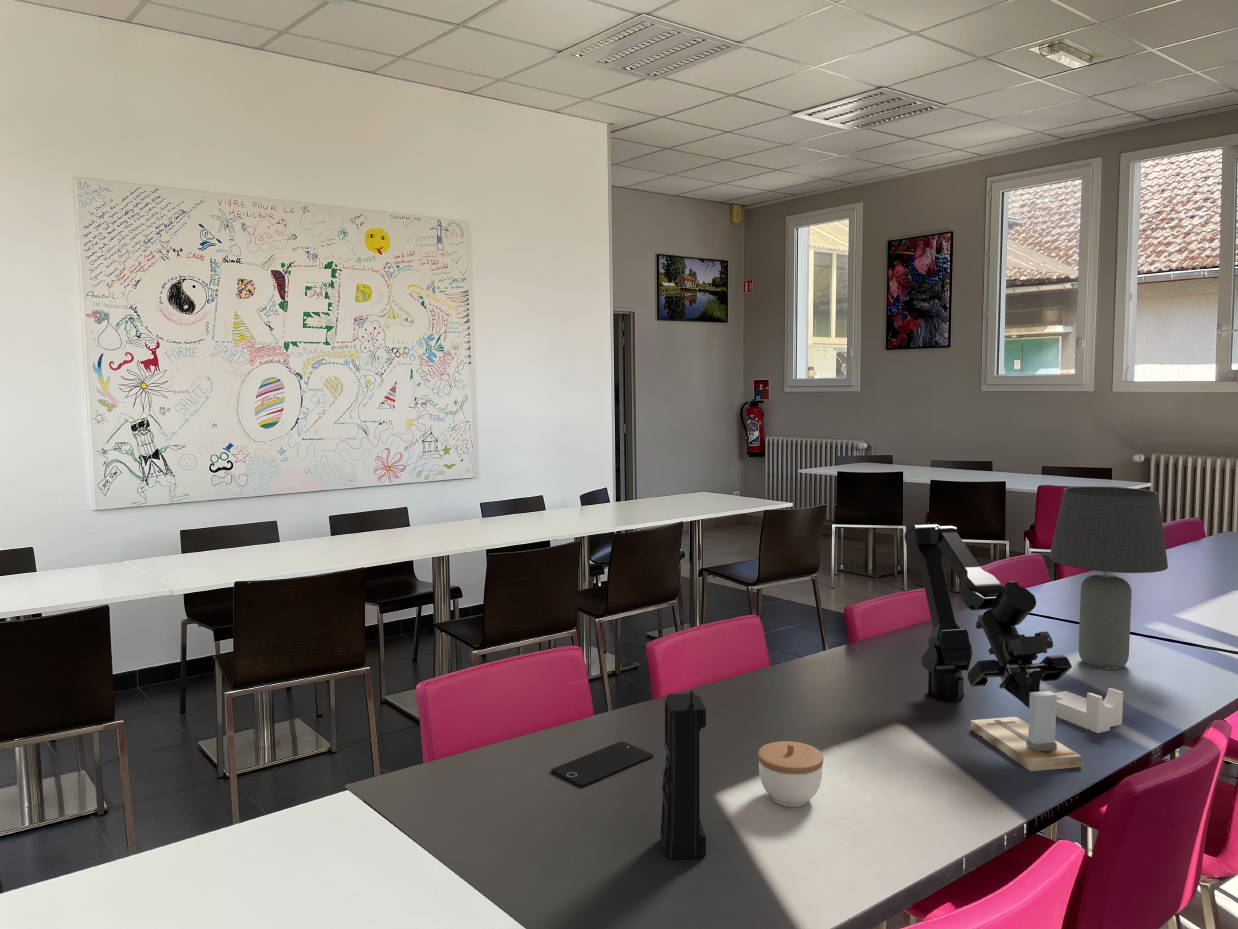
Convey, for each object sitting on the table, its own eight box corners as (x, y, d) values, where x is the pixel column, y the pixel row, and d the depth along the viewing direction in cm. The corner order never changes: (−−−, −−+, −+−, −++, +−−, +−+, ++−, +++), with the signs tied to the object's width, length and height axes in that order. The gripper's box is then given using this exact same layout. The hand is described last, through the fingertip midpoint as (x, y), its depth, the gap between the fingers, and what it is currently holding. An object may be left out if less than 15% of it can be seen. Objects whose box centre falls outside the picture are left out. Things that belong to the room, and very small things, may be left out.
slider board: (970, 730, 172) (970, 719, 172) (1016, 726, 174) (1016, 716, 174) (1030, 771, 153) (1031, 760, 153) (1081, 766, 155) (1081, 755, 155)
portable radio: (658, 833, 133) (657, 676, 131) (697, 831, 134) (696, 675, 132) (665, 861, 126) (664, 694, 123) (706, 858, 126) (706, 693, 124)
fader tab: (1026, 745, 159) (1028, 691, 158) (1045, 743, 160) (1047, 690, 159) (1036, 751, 156) (1038, 697, 155) (1056, 750, 157) (1058, 695, 156)
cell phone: (549, 774, 155) (549, 769, 155) (621, 745, 168) (621, 740, 167) (582, 790, 149) (582, 785, 149) (654, 759, 161) (654, 754, 161)
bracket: (1121, 728, 173) (1123, 692, 172) (1097, 734, 170) (1098, 697, 169) (1065, 707, 185) (1066, 672, 184) (1041, 712, 182) (1042, 677, 181)
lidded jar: (754, 783, 150) (754, 731, 149) (816, 784, 150) (816, 731, 149) (762, 814, 139) (762, 758, 138) (829, 814, 139) (829, 758, 138)
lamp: (1182, 667, 208) (1191, 491, 205) (1131, 688, 194) (1139, 500, 191) (1078, 643, 229) (1084, 483, 225) (1025, 660, 215) (1031, 490, 211)
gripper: (977, 619, 161) (1011, 696, 151) (1067, 614, 164) (1106, 689, 154) (953, 648, 170) (984, 723, 160) (1039, 642, 173) (1075, 716, 163)
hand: (1038, 712), depth 159 cm, fingers closed, pressing on fader tab
